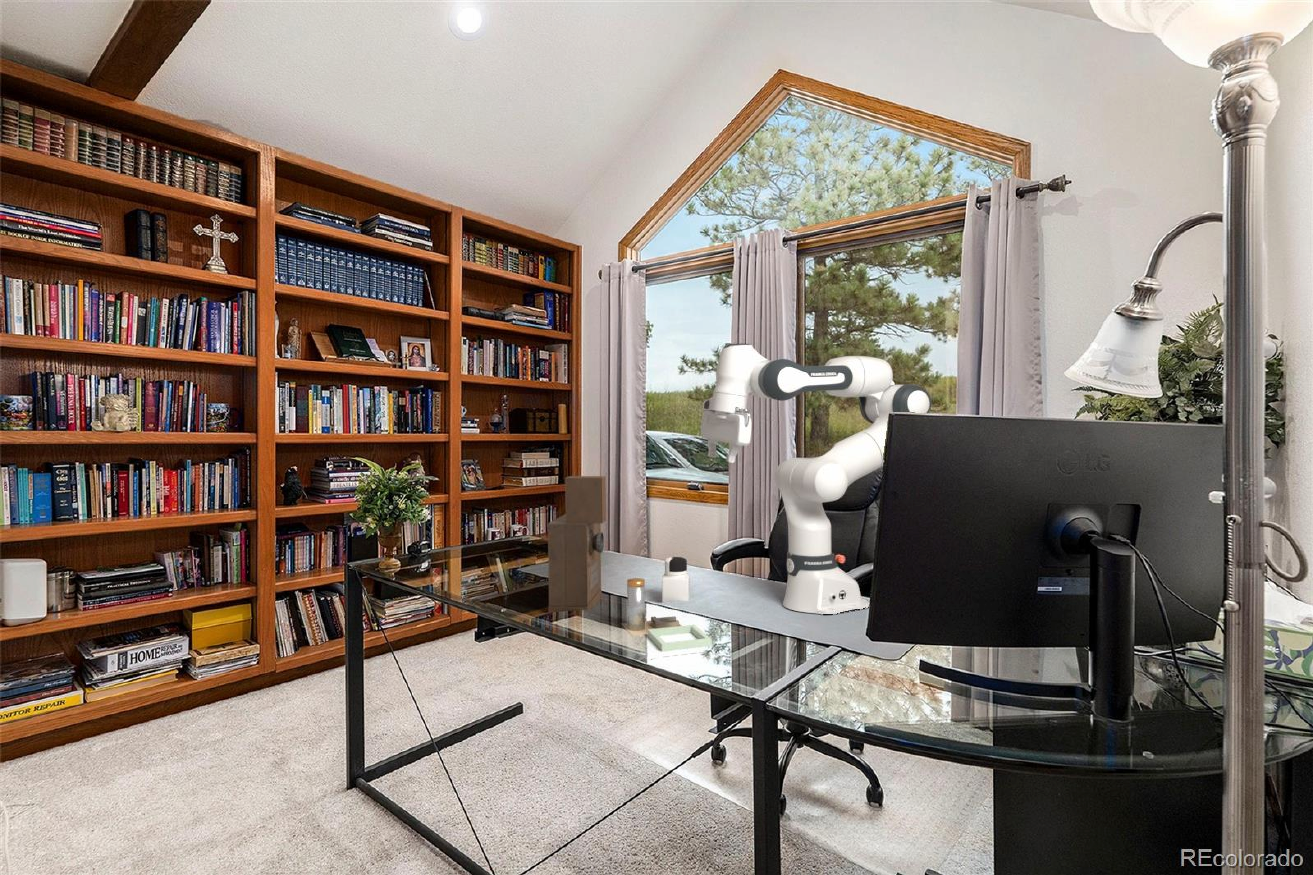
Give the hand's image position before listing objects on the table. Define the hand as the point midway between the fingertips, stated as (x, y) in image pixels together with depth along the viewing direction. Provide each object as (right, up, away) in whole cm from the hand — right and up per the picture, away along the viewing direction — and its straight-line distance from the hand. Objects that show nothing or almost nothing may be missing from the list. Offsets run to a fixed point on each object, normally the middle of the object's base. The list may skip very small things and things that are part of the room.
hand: (720, 459), depth 168 cm
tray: (-12, -40, -25) cm, 48 cm away
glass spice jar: (-21, -38, -16) cm, 47 cm away
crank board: (-17, -40, -15) cm, 46 cm away
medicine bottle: (-11, -39, +12) cm, 43 cm away
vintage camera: (-37, -40, +9) cm, 55 cm away
